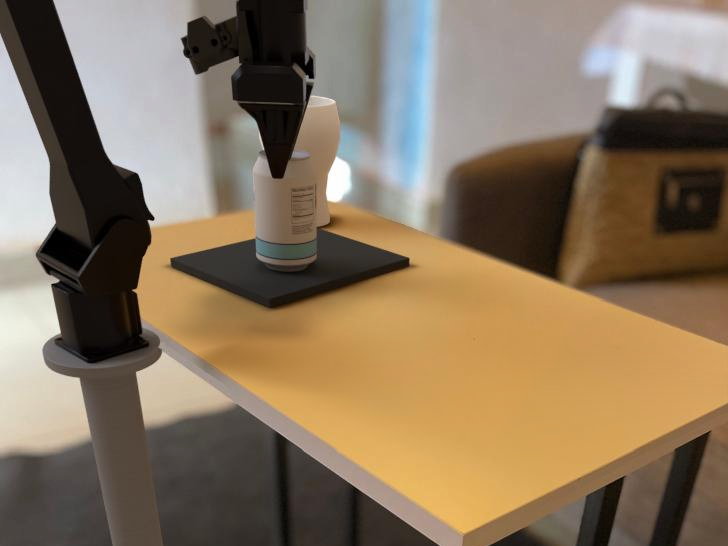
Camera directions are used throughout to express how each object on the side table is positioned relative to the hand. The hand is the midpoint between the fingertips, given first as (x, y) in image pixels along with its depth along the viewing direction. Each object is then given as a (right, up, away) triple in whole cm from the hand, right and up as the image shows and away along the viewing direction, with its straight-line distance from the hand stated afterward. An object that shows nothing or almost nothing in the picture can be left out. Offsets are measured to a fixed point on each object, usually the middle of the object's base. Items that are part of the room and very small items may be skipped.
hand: (281, 168), depth 84 cm
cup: (-2, +7, +32) cm, 33 cm away
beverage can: (-1, -6, +13) cm, 14 cm away
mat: (-1, -5, +16) cm, 17 cm away
